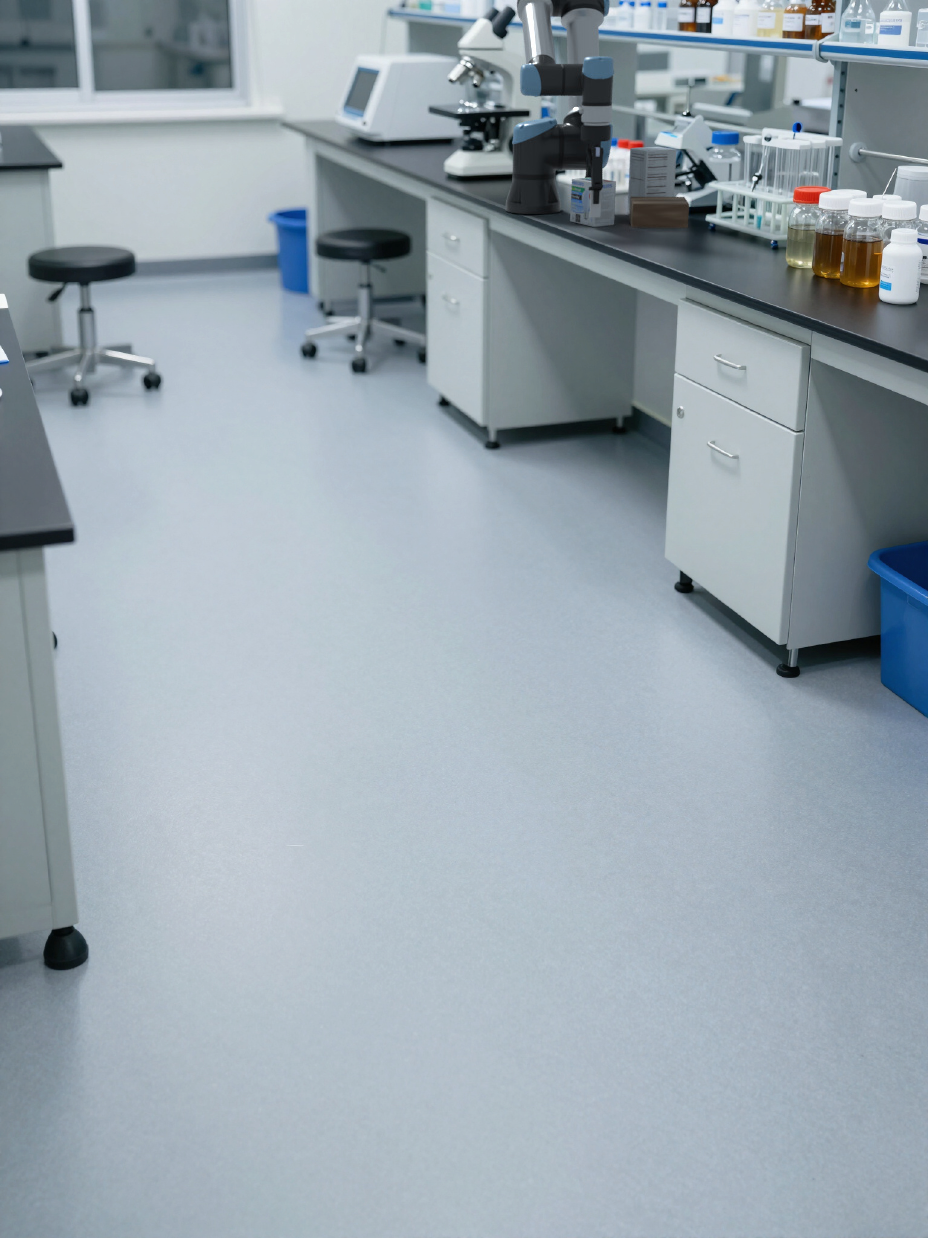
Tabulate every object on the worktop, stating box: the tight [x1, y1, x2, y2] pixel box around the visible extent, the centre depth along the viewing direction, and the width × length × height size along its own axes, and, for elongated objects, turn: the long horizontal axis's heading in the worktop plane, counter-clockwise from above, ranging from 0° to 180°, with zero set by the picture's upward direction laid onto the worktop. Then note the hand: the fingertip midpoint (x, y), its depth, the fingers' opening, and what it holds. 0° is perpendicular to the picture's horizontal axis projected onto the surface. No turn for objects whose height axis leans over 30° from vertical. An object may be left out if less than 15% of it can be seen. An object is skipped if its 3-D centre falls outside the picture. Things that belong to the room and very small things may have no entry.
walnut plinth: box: [628, 196, 690, 229], centre depth 326 cm, size 14×14×6 cm
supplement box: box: [626, 146, 677, 214], centre depth 337 cm, size 10×9×17 cm
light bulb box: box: [569, 177, 617, 228], centre depth 325 cm, size 11×7×11 cm, turn 32°
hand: (592, 213), depth 326 cm, fingers closed on light bulb box, 12 cm apart
